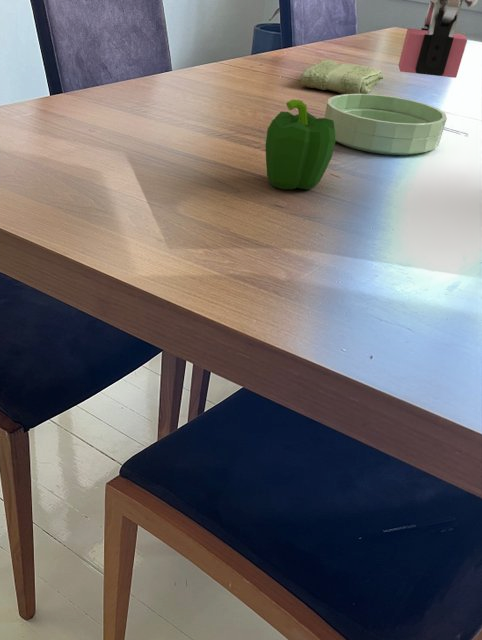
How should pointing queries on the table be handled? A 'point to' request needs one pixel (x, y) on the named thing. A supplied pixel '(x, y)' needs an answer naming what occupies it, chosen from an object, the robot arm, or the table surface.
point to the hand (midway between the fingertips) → (427, 68)
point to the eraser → (414, 46)
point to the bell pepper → (298, 148)
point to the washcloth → (341, 77)
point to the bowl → (385, 123)
